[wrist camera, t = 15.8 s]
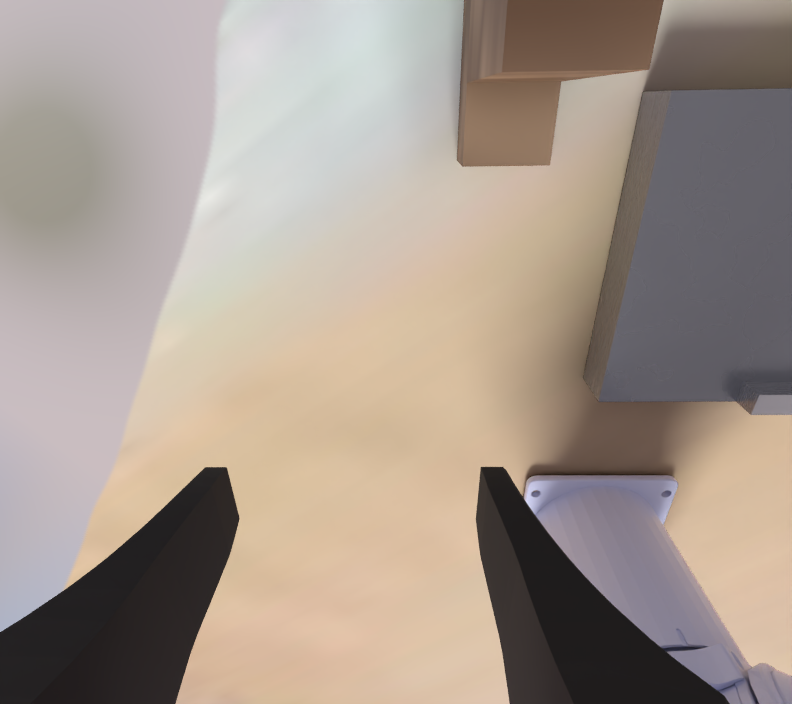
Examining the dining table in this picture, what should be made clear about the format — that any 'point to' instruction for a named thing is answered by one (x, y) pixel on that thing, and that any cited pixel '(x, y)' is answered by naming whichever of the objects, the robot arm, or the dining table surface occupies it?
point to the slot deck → (701, 256)
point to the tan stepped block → (539, 68)
